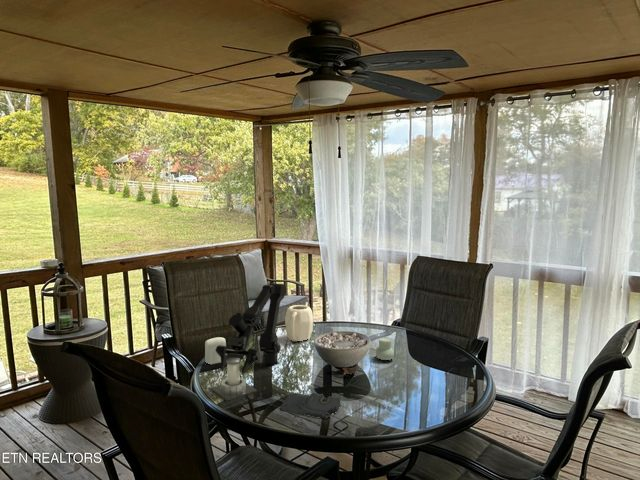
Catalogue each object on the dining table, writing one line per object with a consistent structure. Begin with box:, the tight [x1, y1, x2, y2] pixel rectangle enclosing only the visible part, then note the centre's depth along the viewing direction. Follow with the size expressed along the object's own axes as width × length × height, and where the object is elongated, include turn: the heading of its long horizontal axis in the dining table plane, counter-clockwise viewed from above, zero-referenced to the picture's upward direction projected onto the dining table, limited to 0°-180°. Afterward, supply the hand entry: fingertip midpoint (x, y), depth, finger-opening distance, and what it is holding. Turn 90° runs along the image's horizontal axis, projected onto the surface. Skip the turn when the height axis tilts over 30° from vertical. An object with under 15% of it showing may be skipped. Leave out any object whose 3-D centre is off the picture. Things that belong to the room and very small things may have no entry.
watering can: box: [284, 301, 314, 342], centre depth 254 cm, size 16×27×19 cm, turn 163°
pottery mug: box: [342, 362, 359, 375], centre depth 205 cm, size 12×10×8 cm
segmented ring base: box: [210, 377, 258, 402], centre depth 185 cm, size 14×14×4 cm
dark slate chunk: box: [279, 392, 341, 419], centre depth 171 cm, size 15×22×5 cm
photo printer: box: [204, 336, 227, 365], centre depth 216 cm, size 10×4×12 cm, turn 123°
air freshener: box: [375, 337, 395, 361], centre depth 223 cm, size 11×8×10 cm
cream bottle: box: [226, 357, 241, 386], centre depth 184 cm, size 6×6×12 cm
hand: (232, 371), depth 183 cm, fingers open, 9 cm apart
